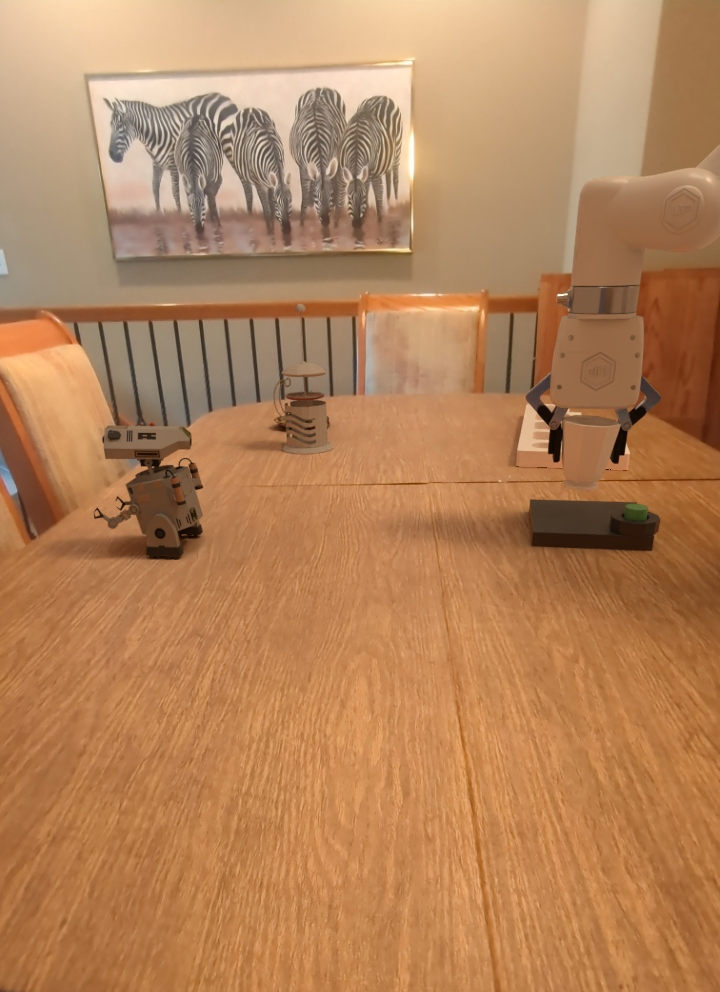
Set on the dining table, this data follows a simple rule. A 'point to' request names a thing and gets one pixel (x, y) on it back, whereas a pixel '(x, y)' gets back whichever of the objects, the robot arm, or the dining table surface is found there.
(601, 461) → the cup
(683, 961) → the dining table surface
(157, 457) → the figurine
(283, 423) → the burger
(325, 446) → the french press
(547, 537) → the scale
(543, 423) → the holder
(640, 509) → the scale button
